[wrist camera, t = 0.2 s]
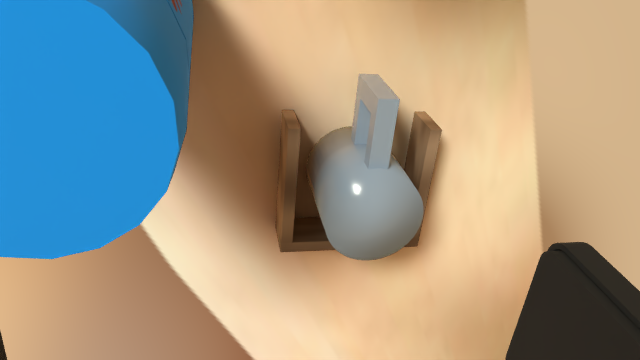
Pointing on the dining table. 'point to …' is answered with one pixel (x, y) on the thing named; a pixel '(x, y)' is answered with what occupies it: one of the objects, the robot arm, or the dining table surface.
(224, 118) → the dining table surface
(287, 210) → the caddy
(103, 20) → the blue domino block
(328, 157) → the grey-blue mug
